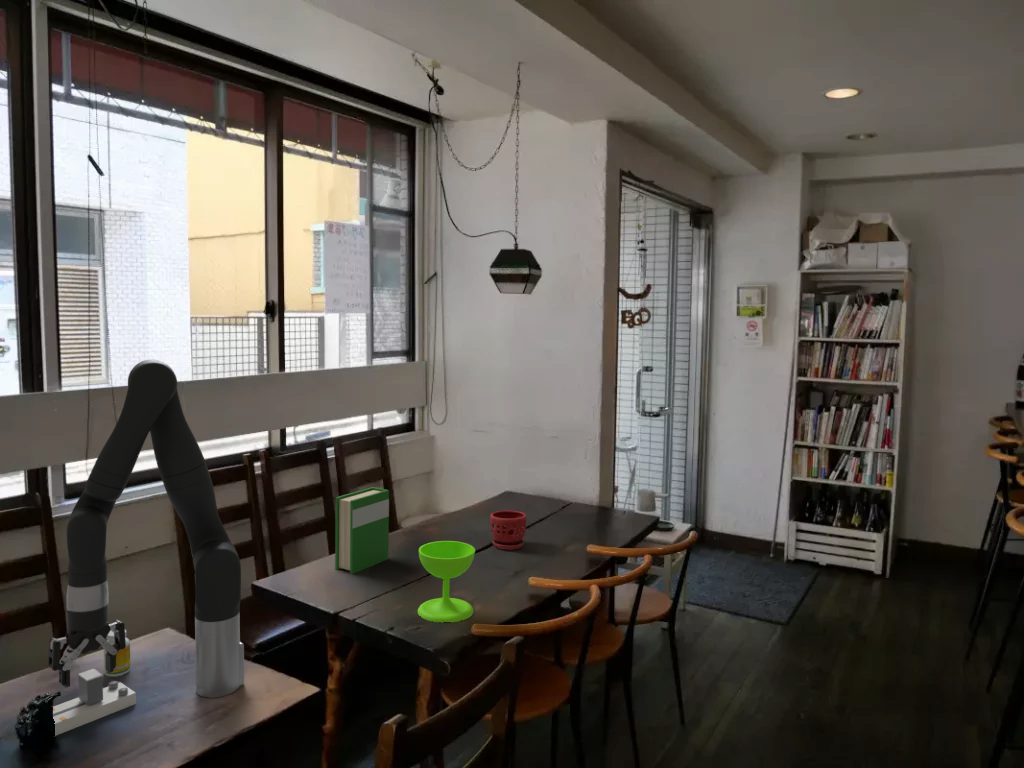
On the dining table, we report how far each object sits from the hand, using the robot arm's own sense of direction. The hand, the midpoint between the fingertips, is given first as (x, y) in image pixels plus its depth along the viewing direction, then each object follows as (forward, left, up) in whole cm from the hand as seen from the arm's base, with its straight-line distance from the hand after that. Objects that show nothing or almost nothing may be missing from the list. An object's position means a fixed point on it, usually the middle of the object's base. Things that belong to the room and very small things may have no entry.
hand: (88, 678), depth 156 cm
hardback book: (-98, -27, -8) cm, 102 cm away
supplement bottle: (-12, -13, -8) cm, 19 cm away
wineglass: (-88, +20, -8) cm, 90 cm away
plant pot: (-146, -3, -8) cm, 146 cm away
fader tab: (0, 0, -5) cm, 5 cm away
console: (0, 0, -8) cm, 8 cm away
